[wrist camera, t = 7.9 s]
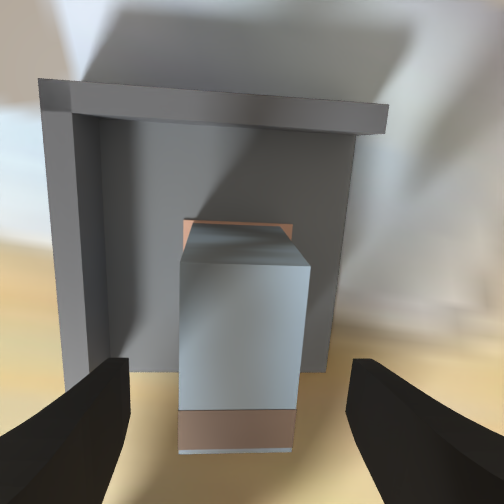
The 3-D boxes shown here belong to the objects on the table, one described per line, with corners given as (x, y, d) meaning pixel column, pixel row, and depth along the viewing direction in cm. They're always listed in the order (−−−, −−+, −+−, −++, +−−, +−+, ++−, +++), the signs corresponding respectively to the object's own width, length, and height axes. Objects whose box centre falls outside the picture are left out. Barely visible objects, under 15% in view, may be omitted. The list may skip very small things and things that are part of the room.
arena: (323, 368, 20) (343, 411, 17) (93, 367, 19) (67, 413, 16) (355, 112, 17) (389, 104, 13) (75, 92, 16) (37, 77, 12)
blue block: (280, 226, 17) (311, 266, 12) (269, 360, 19) (292, 452, 13) (192, 222, 17) (178, 262, 11) (190, 359, 19) (177, 454, 13)
